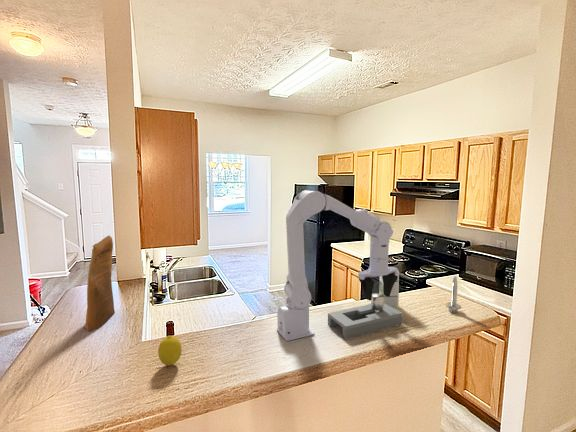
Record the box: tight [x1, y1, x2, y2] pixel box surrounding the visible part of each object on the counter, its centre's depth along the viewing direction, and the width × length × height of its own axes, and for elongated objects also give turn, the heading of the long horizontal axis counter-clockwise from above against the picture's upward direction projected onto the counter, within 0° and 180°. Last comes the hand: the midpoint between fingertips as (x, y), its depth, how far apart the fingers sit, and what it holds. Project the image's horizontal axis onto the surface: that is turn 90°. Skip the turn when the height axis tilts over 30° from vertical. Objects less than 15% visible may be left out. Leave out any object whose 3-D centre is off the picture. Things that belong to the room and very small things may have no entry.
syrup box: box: [378, 270, 400, 311], centre depth 112 cm, size 6×6×14 cm
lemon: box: [157, 335, 183, 366], centre depth 77 cm, size 6×6×8 cm
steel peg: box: [370, 292, 384, 313], centre depth 101 cm, size 4×4×9 cm
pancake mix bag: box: [85, 235, 115, 332], centre depth 102 cm, size 7×19×28 cm, turn 8°
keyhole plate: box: [327, 303, 404, 340], centre depth 99 cm, size 22×10×4 cm, turn 114°
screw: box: [445, 276, 462, 314], centre depth 108 cm, size 13×5×5 cm
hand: (377, 297), depth 100 cm, fingers open, 7 cm apart
